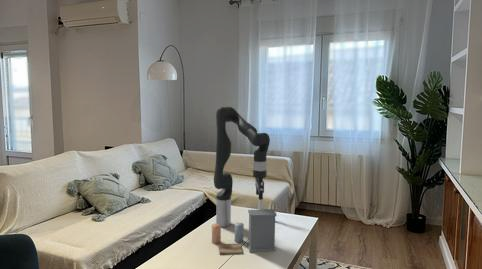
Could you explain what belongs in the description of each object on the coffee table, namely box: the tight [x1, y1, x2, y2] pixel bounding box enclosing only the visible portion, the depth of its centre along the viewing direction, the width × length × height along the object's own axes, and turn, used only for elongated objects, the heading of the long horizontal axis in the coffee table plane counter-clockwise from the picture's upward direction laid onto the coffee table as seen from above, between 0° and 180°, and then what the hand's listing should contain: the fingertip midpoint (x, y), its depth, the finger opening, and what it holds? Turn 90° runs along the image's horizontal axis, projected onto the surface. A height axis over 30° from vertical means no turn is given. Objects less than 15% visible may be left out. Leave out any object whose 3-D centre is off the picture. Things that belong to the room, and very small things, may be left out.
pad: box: [218, 243, 243, 256], centre depth 183 cm, size 10×12×1 cm
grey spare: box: [234, 222, 245, 244], centre depth 193 cm, size 5×5×10 cm
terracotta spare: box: [211, 223, 222, 245], centre depth 192 cm, size 5×5×10 cm
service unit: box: [247, 208, 277, 253], centre depth 184 cm, size 8×14×20 cm, turn 97°
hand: (259, 196), depth 191 cm, fingers open, 8 cm apart
